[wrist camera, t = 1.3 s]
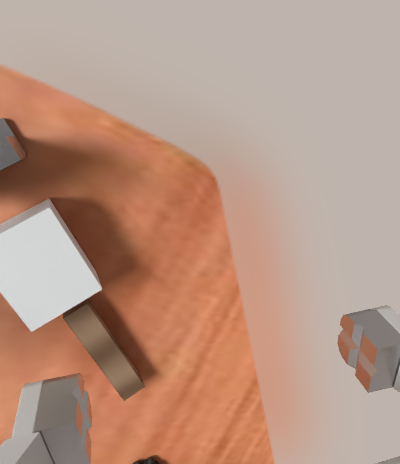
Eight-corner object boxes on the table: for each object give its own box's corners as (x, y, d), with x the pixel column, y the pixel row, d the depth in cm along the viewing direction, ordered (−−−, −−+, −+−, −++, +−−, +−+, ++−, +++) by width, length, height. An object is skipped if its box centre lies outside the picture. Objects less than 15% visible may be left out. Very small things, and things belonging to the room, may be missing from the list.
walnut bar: (139, 373, 51) (144, 386, 48) (119, 386, 51) (124, 400, 48) (84, 293, 46) (87, 303, 43) (62, 307, 45) (63, 318, 43)
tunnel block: (95, 270, 45) (102, 289, 40) (33, 307, 43) (31, 332, 38) (49, 198, 41) (49, 207, 36) (-22, 235, 40) (-32, 250, 34)
